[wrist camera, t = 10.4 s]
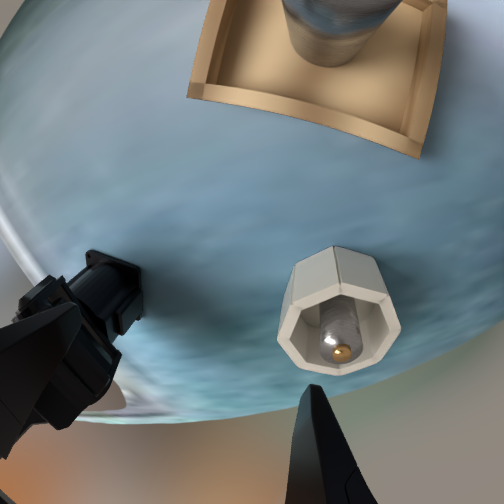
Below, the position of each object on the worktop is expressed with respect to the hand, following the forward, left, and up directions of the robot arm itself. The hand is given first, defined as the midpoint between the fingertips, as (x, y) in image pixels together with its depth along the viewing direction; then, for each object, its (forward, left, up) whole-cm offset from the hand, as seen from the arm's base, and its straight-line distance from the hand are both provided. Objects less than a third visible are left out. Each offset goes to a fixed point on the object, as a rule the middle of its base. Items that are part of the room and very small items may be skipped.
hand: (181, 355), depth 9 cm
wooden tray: (+2, +14, -13) cm, 19 cm away
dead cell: (+8, -4, -12) cm, 15 cm away
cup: (+8, -4, -13) cm, 16 cm away
